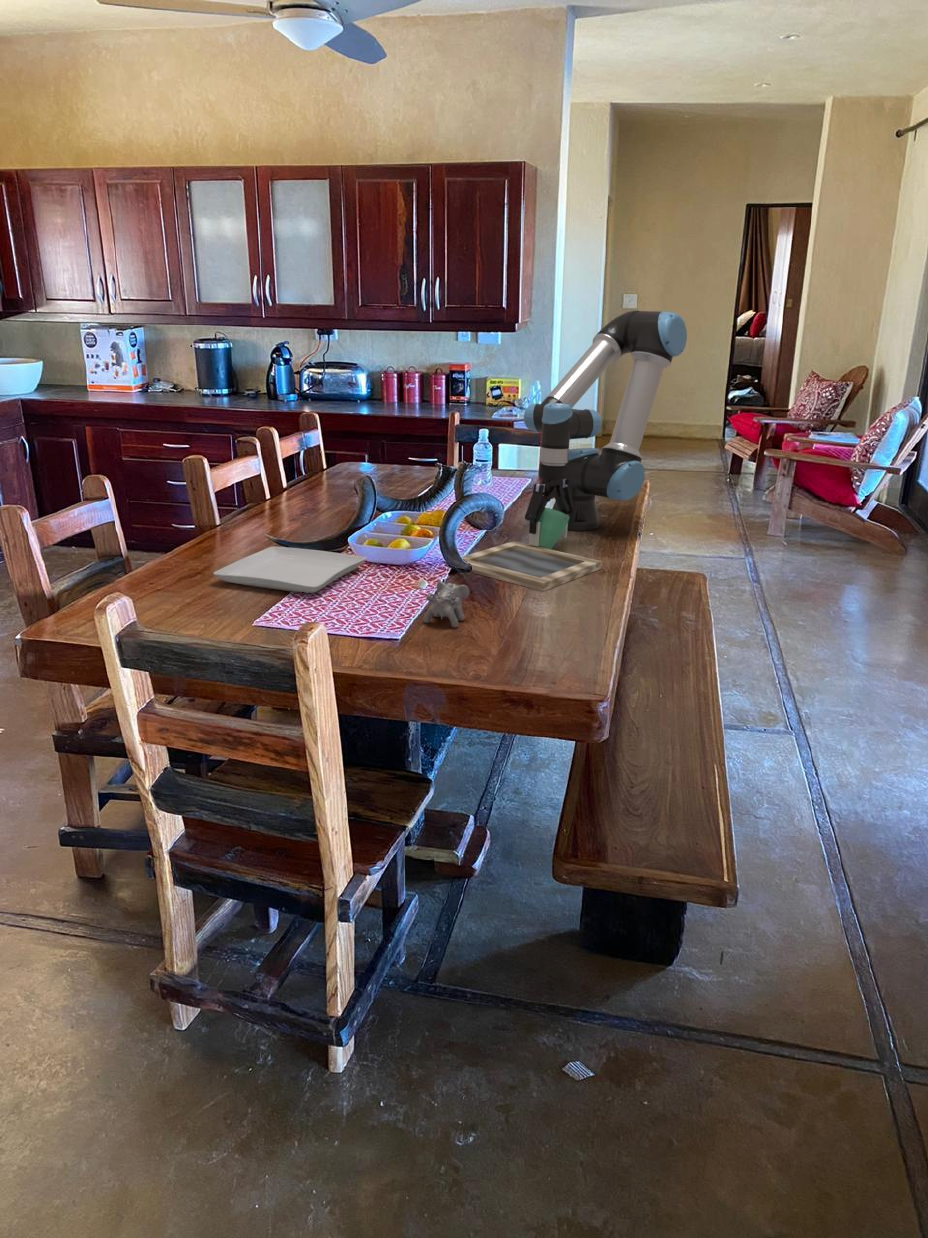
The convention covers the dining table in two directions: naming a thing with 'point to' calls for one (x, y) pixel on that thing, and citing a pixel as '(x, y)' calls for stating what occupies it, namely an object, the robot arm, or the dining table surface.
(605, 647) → the dining table surface
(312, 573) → the square plate
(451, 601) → the elephant statuette
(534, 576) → the framed board
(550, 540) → the green tapered cup
